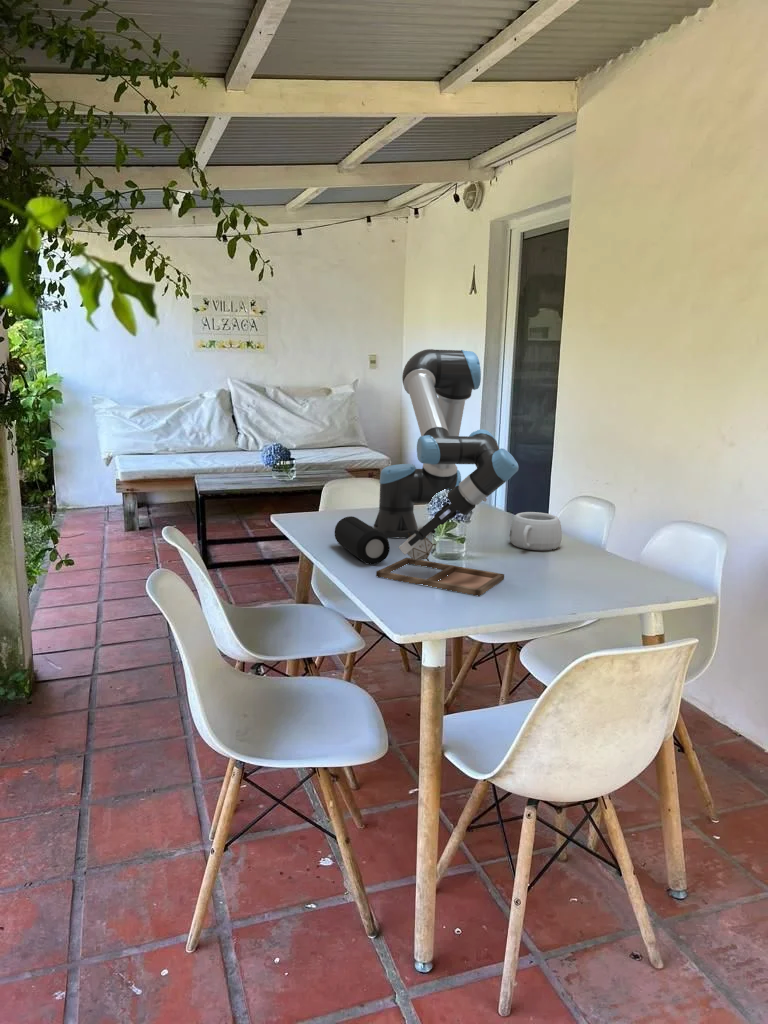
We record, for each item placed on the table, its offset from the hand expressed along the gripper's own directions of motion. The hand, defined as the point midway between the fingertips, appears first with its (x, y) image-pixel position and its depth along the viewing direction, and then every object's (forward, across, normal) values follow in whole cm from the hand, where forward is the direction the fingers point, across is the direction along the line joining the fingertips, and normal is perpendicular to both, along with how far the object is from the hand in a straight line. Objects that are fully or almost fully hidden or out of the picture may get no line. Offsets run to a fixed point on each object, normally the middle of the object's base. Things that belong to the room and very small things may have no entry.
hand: (406, 547), depth 208 cm
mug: (-15, +46, -26) cm, 55 cm away
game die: (+1, +1, -5) cm, 5 cm away
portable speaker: (+18, +12, +7) cm, 23 cm away
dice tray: (-2, -1, -12) cm, 13 cm away
